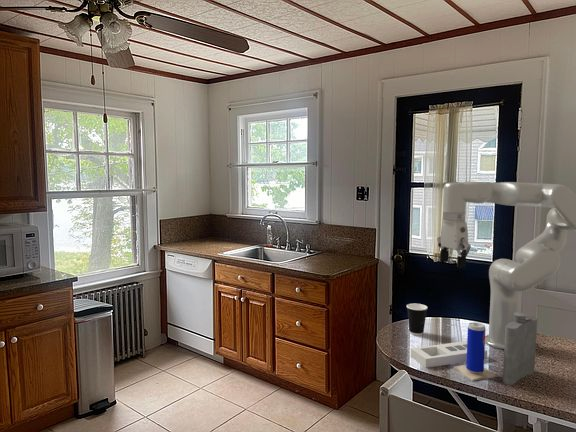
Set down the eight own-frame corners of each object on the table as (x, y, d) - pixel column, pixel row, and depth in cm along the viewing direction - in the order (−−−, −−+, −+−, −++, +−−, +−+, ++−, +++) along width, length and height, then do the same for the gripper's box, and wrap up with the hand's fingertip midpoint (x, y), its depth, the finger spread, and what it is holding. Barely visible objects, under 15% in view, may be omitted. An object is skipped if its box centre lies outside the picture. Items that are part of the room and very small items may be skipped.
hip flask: (511, 386, 132) (514, 321, 130) (497, 381, 135) (500, 317, 133) (536, 371, 141) (539, 310, 139) (523, 367, 144) (526, 307, 142)
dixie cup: (403, 329, 178) (404, 303, 177) (423, 330, 178) (424, 303, 177) (408, 337, 170) (409, 309, 169) (429, 337, 170) (430, 309, 169)
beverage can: (485, 374, 138) (487, 328, 136) (467, 373, 139) (469, 327, 137) (481, 367, 143) (483, 322, 141) (464, 366, 144) (466, 321, 142)
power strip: (469, 348, 159) (469, 339, 159) (486, 358, 151) (487, 348, 150) (410, 356, 153) (410, 346, 152) (425, 367, 144) (425, 357, 144)
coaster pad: (477, 364, 146) (477, 363, 146) (496, 377, 138) (497, 375, 137) (453, 368, 144) (453, 366, 144) (472, 380, 135) (472, 379, 135)
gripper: (479, 219, 150) (477, 268, 152) (447, 214, 167) (446, 259, 168) (461, 220, 148) (459, 270, 150) (430, 215, 165) (429, 260, 166)
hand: (452, 264), depth 159 cm, fingers open, 9 cm apart
